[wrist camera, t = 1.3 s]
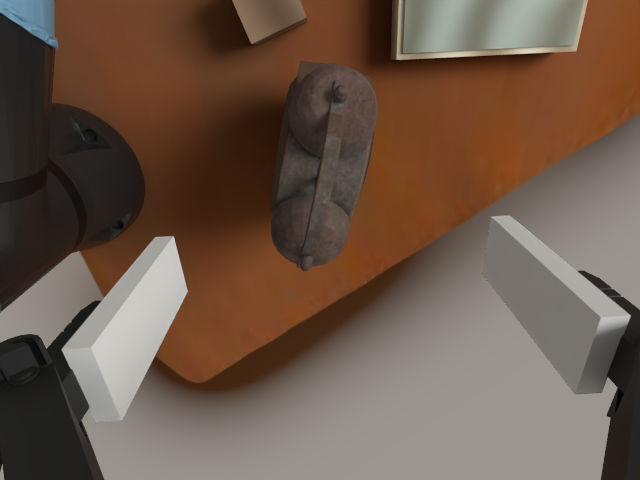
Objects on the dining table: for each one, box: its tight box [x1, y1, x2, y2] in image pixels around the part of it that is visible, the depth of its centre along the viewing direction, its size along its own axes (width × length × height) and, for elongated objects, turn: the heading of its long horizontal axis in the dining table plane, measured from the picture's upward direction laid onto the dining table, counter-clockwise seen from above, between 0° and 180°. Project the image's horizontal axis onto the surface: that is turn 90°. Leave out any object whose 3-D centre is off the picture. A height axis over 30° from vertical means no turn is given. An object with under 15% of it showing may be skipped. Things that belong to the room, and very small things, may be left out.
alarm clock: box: [270, 61, 378, 271], centre depth 31 cm, size 14×7×20 cm, turn 169°
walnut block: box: [232, 0, 308, 45], centre depth 33 cm, size 5×5×5 cm
